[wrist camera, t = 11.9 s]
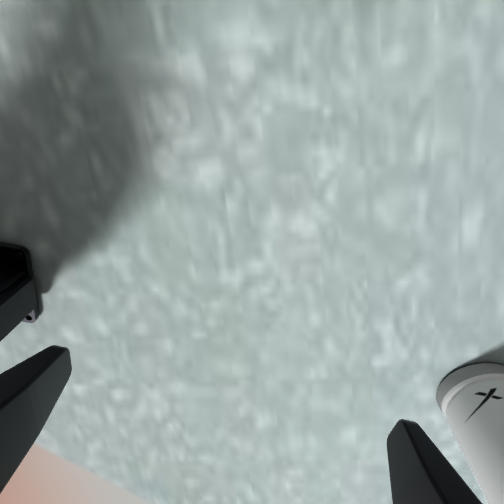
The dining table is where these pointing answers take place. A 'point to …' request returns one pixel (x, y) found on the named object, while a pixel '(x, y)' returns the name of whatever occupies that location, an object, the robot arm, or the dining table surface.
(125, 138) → the dining table surface
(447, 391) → the travel mug
